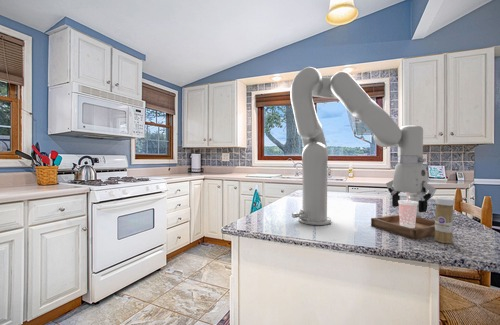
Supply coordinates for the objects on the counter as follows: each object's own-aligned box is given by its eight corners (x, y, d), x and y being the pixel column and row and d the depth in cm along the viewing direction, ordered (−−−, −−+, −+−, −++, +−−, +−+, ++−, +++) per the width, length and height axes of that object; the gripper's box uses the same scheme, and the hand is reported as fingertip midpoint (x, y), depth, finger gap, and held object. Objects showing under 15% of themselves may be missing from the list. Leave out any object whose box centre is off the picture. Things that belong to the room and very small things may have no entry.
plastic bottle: (426, 220, 103) (427, 171, 102) (407, 219, 104) (409, 170, 103) (419, 216, 109) (420, 170, 108) (401, 215, 110) (402, 169, 110)
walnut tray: (413, 239, 79) (413, 230, 79) (371, 226, 94) (371, 218, 94) (448, 232, 86) (448, 223, 86) (403, 221, 101) (403, 213, 101)
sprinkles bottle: (433, 241, 78) (434, 198, 77) (434, 237, 81) (436, 196, 81) (452, 245, 75) (454, 199, 74) (453, 241, 78) (454, 197, 78)
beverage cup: (417, 229, 86) (418, 189, 86) (397, 227, 89) (397, 187, 89) (417, 225, 91) (418, 187, 91) (397, 223, 95) (398, 185, 94)
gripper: (443, 161, 83) (441, 213, 84) (394, 160, 99) (393, 203, 99) (428, 161, 80) (427, 215, 81) (380, 160, 96) (380, 205, 96)
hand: (408, 209), depth 90 cm, fingers open, 9 cm apart
